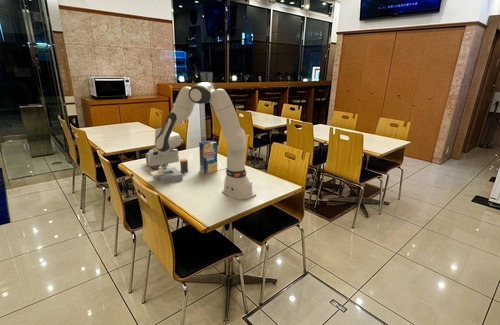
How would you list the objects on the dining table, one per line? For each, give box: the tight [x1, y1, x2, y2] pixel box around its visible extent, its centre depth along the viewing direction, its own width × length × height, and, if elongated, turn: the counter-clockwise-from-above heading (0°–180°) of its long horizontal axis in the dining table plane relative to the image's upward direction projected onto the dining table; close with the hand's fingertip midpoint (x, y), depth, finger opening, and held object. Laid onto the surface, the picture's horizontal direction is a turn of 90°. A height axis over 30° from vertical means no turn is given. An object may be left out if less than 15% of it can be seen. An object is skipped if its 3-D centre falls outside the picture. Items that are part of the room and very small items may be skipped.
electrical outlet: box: [145, 152, 166, 170], centre depth 213 cm, size 12×28×10 cm, turn 37°
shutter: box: [150, 166, 164, 177], centre depth 187 cm, size 7×7×4 cm
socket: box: [154, 167, 184, 184], centre depth 192 cm, size 16×14×4 cm
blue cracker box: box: [198, 140, 218, 175], centre depth 205 cm, size 7×11×22 cm, turn 127°
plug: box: [179, 158, 189, 173], centre depth 204 cm, size 4×4×9 cm
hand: (164, 169), depth 190 cm, fingers closed
